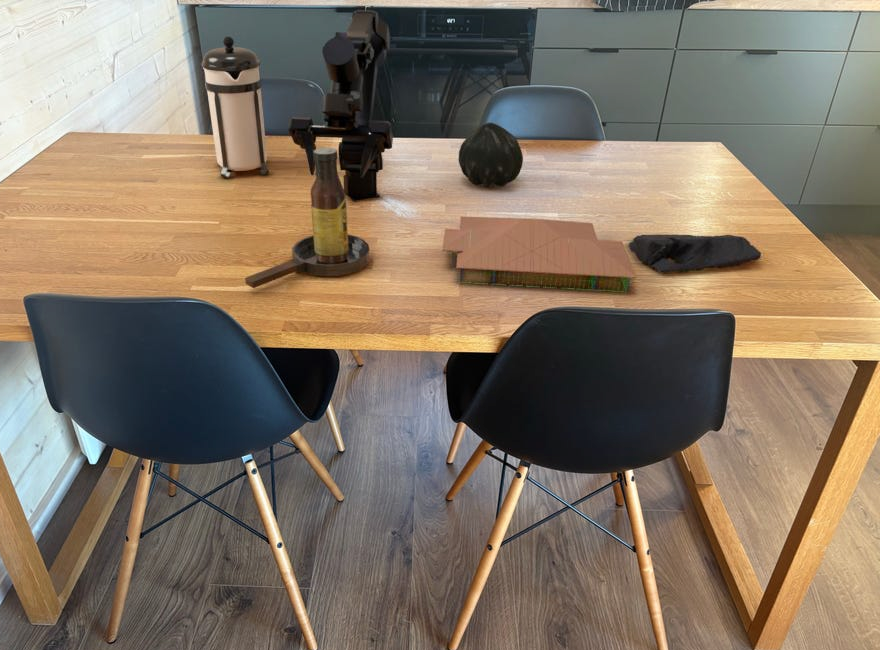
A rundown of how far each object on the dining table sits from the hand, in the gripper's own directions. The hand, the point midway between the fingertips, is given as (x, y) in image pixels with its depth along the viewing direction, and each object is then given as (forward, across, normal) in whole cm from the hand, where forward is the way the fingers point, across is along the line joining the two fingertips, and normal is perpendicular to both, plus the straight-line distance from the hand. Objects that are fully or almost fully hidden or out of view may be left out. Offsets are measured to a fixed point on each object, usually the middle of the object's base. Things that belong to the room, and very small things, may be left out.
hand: (336, 175), depth 128 cm
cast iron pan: (+15, 0, +4) cm, 16 cm away
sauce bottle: (+15, 0, +4) cm, 15 cm away
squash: (-18, +28, +38) cm, 51 cm away
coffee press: (-19, -32, +38) cm, 54 cm away
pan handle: (+21, -8, -3) cm, 23 cm away
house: (+11, +37, +8) cm, 39 cm away
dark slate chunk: (+7, +67, +12) cm, 69 cm away
